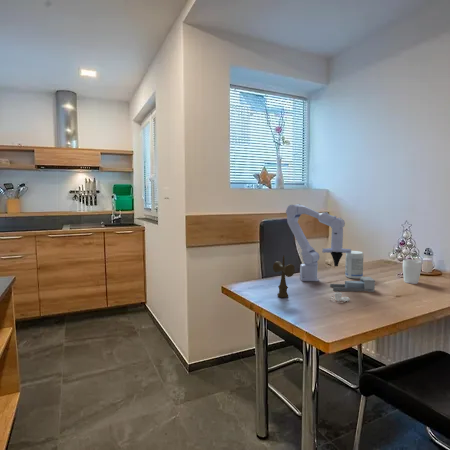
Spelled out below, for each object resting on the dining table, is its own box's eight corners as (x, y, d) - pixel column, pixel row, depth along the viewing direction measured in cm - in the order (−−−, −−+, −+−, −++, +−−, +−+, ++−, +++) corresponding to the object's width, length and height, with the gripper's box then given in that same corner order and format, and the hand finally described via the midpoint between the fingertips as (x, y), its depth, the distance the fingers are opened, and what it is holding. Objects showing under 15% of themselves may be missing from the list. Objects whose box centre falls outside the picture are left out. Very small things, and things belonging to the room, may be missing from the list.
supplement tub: (365, 277, 184) (366, 252, 182) (358, 280, 177) (359, 254, 175) (349, 273, 191) (350, 249, 189) (341, 276, 184) (342, 252, 182)
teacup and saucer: (350, 300, 145) (350, 292, 145) (347, 306, 139) (347, 297, 138) (330, 297, 150) (331, 289, 149) (326, 302, 143) (327, 293, 143)
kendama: (285, 300, 144) (286, 257, 142) (271, 295, 152) (271, 254, 150) (294, 298, 147) (295, 256, 145) (280, 292, 155) (281, 252, 153)
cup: (415, 280, 177) (416, 259, 176) (423, 284, 168) (425, 262, 167) (398, 279, 178) (399, 258, 177) (406, 284, 169) (407, 262, 168)
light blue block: (346, 290, 159) (347, 282, 159) (344, 288, 163) (345, 280, 163) (371, 291, 158) (371, 283, 158) (368, 289, 162) (369, 281, 161)
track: (333, 290, 158) (333, 279, 158) (330, 286, 165) (330, 275, 165) (374, 291, 156) (375, 280, 156) (369, 287, 163) (369, 276, 163)
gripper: (324, 241, 164) (323, 267, 166) (353, 242, 163) (352, 268, 164) (321, 239, 171) (321, 264, 173) (349, 240, 170) (348, 265, 171)
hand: (336, 266), depth 169 cm, fingers closed
